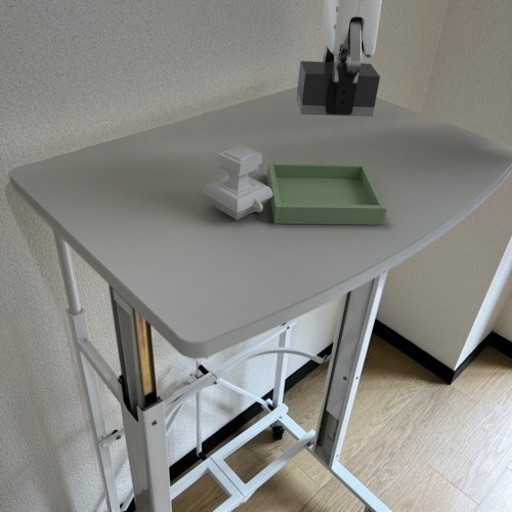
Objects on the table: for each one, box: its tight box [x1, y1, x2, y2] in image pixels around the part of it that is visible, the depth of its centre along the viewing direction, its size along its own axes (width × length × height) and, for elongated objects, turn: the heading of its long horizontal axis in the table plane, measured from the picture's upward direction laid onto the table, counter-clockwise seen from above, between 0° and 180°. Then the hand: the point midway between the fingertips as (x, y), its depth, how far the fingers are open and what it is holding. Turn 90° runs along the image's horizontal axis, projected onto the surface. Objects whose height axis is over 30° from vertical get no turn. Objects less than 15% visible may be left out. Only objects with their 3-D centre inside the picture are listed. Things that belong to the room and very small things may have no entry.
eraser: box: [295, 60, 381, 118], centre depth 68 cm, size 9×5×5 cm, turn 93°
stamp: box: [202, 143, 273, 221], centre depth 72 cm, size 9×7×8 cm
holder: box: [266, 162, 387, 226], centre depth 77 cm, size 15×13×3 cm
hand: (334, 103), depth 69 cm, fingers closed on eraser, 5 cm apart
